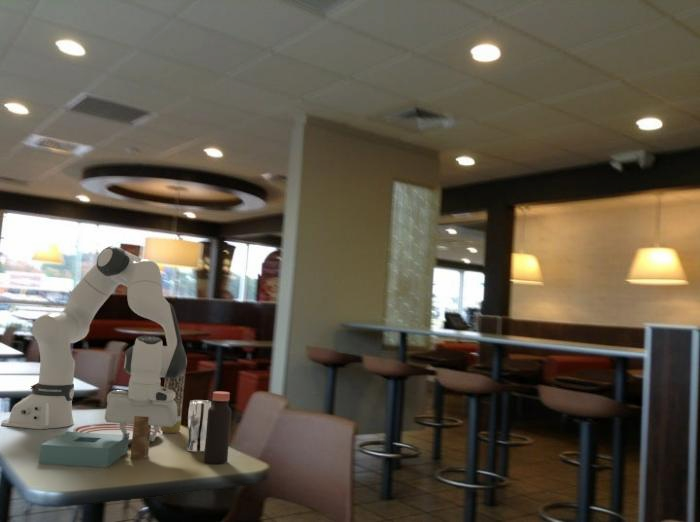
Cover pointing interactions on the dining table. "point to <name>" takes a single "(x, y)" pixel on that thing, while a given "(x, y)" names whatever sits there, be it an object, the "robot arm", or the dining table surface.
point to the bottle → (218, 429)
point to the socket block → (83, 449)
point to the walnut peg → (140, 438)
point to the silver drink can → (197, 425)
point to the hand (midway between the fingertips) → (138, 439)
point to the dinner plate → (110, 429)
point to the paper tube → (178, 388)
